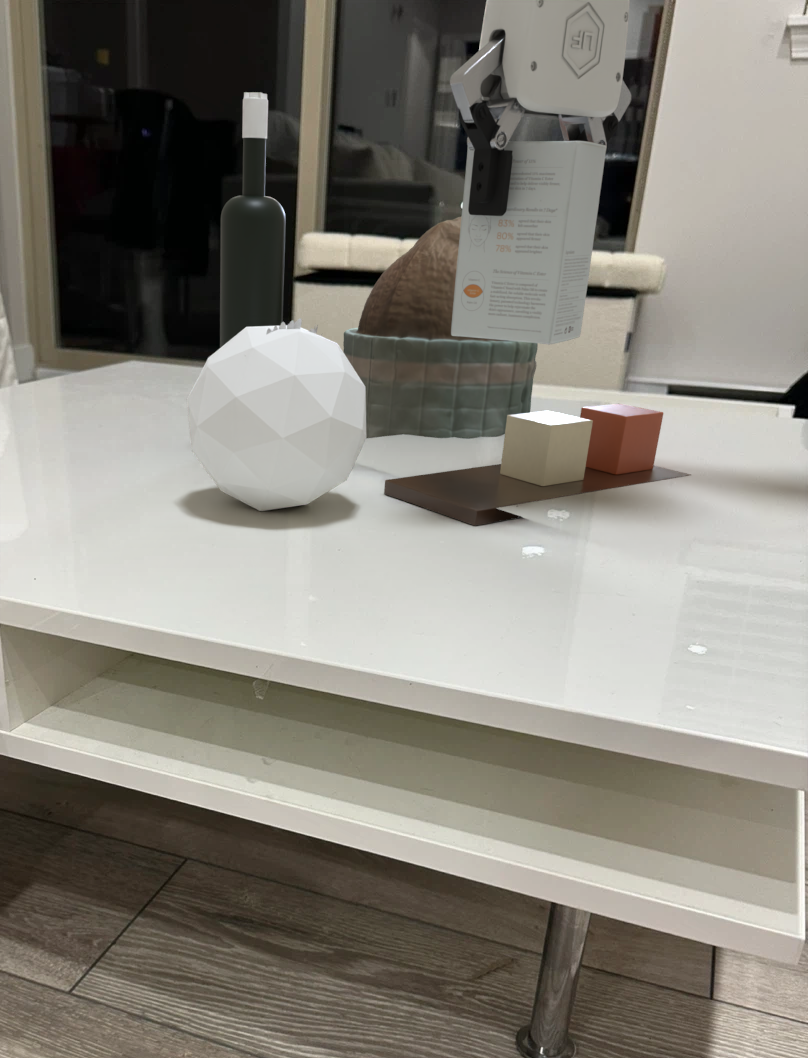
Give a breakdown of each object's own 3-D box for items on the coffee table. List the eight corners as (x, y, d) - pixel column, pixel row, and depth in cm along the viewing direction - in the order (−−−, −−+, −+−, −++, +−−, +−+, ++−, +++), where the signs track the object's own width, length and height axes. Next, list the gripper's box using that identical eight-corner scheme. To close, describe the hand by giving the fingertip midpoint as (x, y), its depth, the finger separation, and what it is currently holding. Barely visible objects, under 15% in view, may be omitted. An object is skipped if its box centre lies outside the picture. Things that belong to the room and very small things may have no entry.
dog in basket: (540, 413, 126) (569, 209, 116) (554, 456, 103) (591, 209, 94) (351, 402, 129) (363, 203, 119) (325, 442, 107) (338, 201, 97)
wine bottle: (262, 442, 106) (270, 97, 93) (288, 454, 101) (301, 93, 88) (209, 446, 103) (210, 93, 90) (234, 458, 99) (239, 88, 86)
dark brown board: (592, 463, 101) (594, 450, 101) (689, 488, 93) (692, 474, 93) (383, 493, 88) (384, 479, 88) (474, 526, 80) (476, 510, 80)
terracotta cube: (609, 458, 98) (618, 403, 96) (653, 469, 94) (664, 412, 92) (572, 463, 95) (581, 407, 93) (616, 475, 92) (626, 416, 90)
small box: (581, 339, 80) (610, 144, 74) (549, 346, 75) (578, 139, 69) (483, 330, 84) (503, 144, 78) (447, 336, 79) (466, 140, 74)
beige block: (540, 468, 93) (548, 410, 91) (583, 480, 90) (593, 420, 88) (499, 474, 91) (506, 414, 89) (542, 486, 87) (551, 425, 85)
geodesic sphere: (261, 399, 93) (212, 263, 81) (412, 417, 88) (384, 273, 76) (192, 531, 88) (128, 406, 76) (348, 559, 82) (306, 429, 70)
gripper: (513, -119, 61) (478, 215, 69) (699, -72, 70) (650, 220, 78) (426, -94, 67) (403, 213, 74) (610, -54, 75) (572, 217, 83)
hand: (529, 215), depth 76 cm, fingers closed on small box, 8 cm apart
